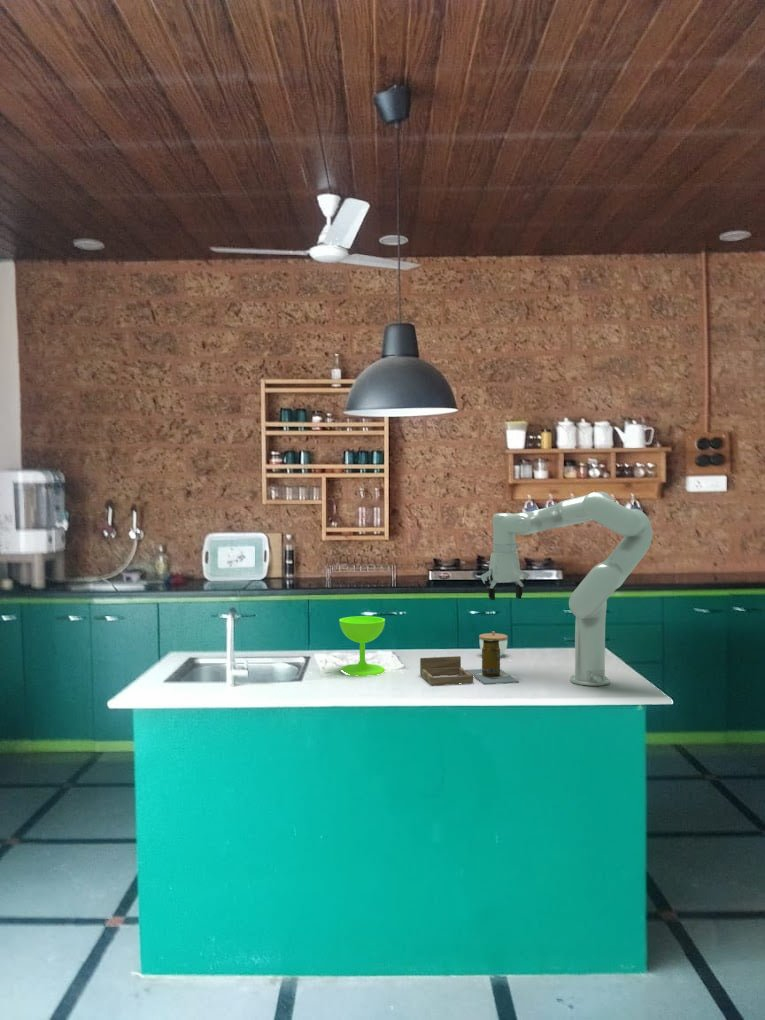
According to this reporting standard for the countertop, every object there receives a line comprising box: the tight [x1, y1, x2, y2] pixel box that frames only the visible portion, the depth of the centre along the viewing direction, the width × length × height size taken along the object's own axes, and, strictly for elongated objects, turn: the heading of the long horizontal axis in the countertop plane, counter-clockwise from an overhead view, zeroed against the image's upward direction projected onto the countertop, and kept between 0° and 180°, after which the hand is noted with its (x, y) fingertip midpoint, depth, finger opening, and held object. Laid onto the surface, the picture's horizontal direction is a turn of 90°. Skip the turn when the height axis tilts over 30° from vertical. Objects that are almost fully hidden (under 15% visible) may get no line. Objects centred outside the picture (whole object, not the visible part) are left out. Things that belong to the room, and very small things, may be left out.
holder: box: [419, 655, 474, 686], centre depth 282 cm, size 15×14×6 cm
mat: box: [465, 668, 520, 685], centre depth 286 cm, size 20×12×1 cm, turn 12°
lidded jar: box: [478, 630, 509, 657], centre depth 320 cm, size 11×11×9 cm
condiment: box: [478, 639, 510, 678], centre depth 285 cm, size 7×8×12 cm
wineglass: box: [338, 615, 386, 677], centre depth 295 cm, size 16×16×18 cm
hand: (505, 599), depth 290 cm, fingers open, 9 cm apart
